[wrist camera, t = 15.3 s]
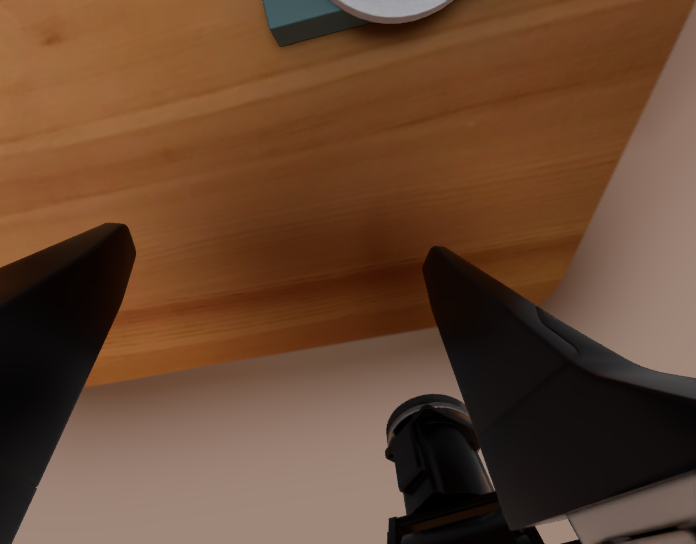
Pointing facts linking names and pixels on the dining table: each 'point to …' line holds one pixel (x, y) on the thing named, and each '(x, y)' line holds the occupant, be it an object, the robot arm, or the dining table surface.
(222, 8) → the dining table surface
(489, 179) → the dining table surface
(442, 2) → the kitchen scale
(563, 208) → the dining table surface
